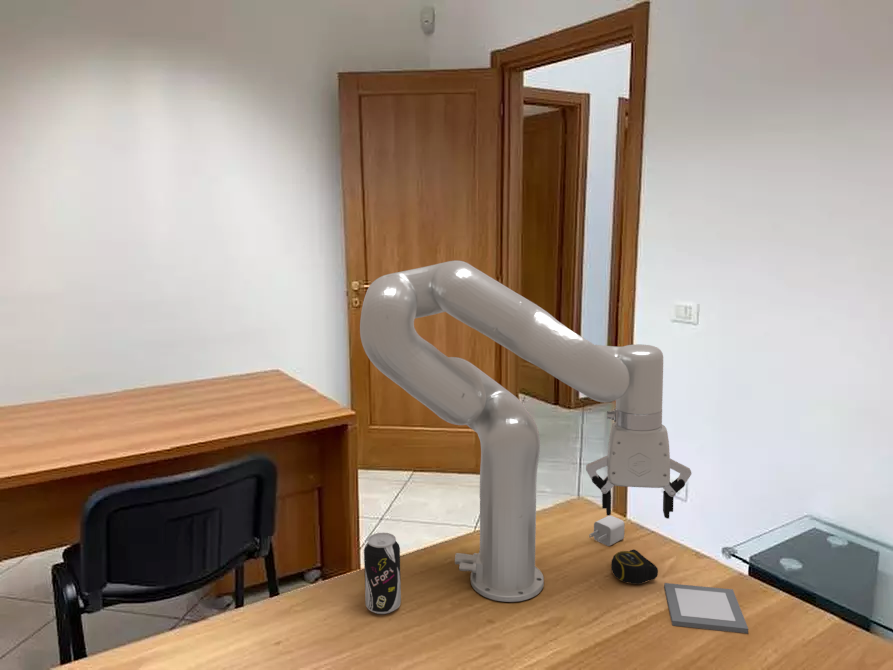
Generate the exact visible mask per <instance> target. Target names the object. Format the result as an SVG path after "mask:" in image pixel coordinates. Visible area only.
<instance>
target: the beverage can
mask: <svg viewBox="0 0 893 670" xmlns="http://www.w3.org/2000/svg"><path fill="white" fill-rule="evenodd" d="M363 561H364V562H363V566H364V592H365V594H364V595H365V596H364V597H365V600H364V602H365V606H366V608H367V610H368V611H370V612H372V613H374V614H376V615H377V614H378V615H387V614H390V613H392V612H394V611H397V609H398V608H400V606H401V603H402V593H401V587H402V586H401V585H402V583H401V548H400V544H399V542H397V538H396V536H395V535H394V534H392V533H390V532H389V533H388V532H377V533H372V534H371V535H370V536H368V537H367V542H366V544H365V546H364V547H363Z"/></svg>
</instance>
